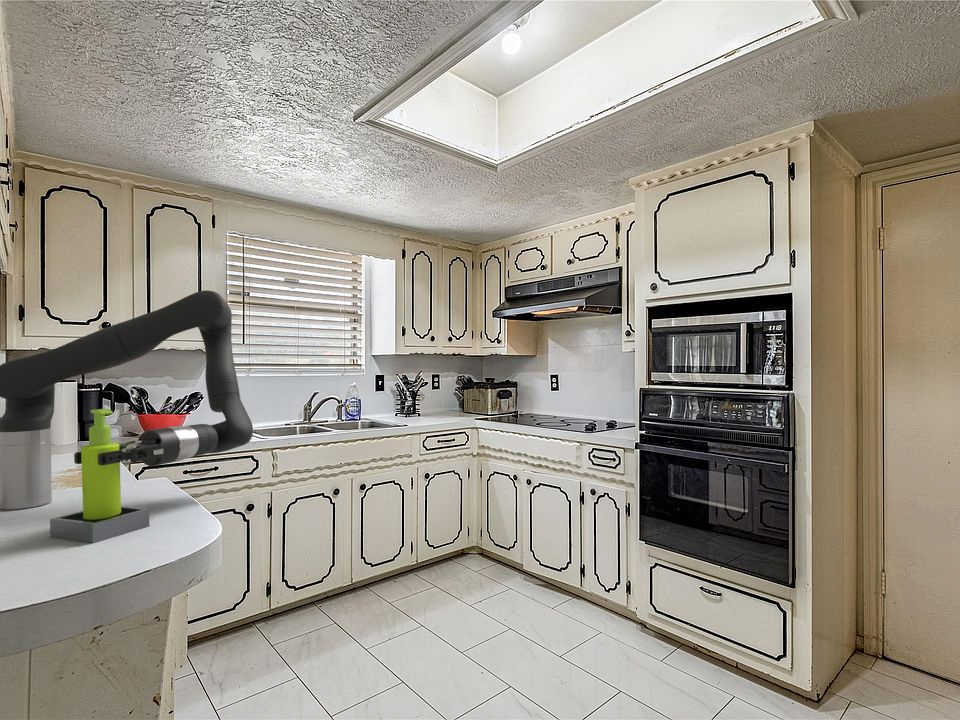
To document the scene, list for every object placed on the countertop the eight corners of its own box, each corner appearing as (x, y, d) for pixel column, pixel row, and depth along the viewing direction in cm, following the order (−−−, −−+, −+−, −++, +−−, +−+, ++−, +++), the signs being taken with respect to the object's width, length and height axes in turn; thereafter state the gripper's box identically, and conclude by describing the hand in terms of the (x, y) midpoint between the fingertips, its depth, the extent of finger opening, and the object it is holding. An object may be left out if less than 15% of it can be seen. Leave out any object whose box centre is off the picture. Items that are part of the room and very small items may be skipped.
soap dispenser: (92, 522, 98) (88, 412, 97) (78, 515, 102) (75, 409, 101) (128, 514, 102) (125, 408, 102) (114, 508, 106) (111, 406, 106)
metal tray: (50, 537, 99) (50, 518, 99) (108, 521, 109) (108, 504, 109) (92, 543, 95) (92, 524, 95) (149, 526, 105) (149, 508, 105)
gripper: (144, 426, 118) (61, 438, 102) (193, 427, 113) (113, 439, 97) (145, 461, 118) (62, 477, 102) (194, 463, 113) (114, 481, 97)
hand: (87, 459), depth 100 cm, fingers closed on soap dispenser, 6 cm apart
